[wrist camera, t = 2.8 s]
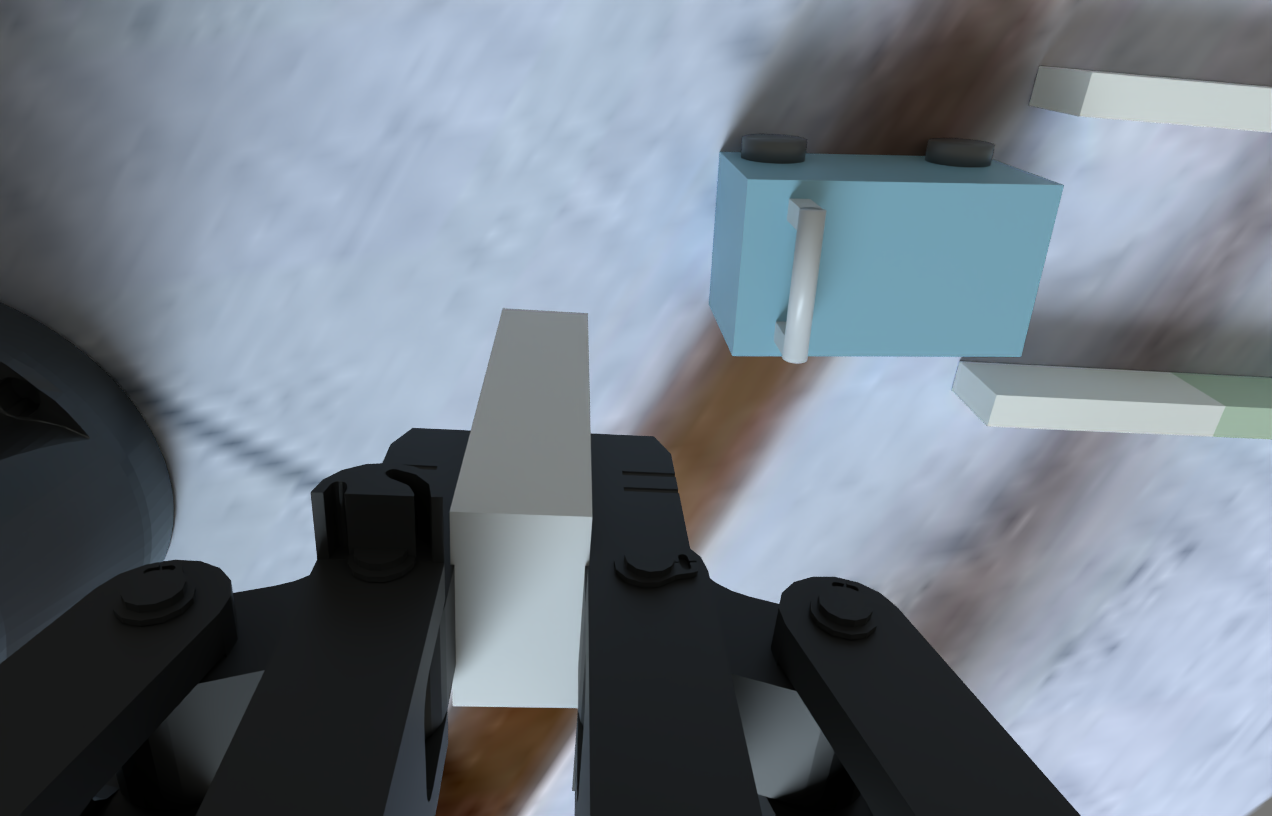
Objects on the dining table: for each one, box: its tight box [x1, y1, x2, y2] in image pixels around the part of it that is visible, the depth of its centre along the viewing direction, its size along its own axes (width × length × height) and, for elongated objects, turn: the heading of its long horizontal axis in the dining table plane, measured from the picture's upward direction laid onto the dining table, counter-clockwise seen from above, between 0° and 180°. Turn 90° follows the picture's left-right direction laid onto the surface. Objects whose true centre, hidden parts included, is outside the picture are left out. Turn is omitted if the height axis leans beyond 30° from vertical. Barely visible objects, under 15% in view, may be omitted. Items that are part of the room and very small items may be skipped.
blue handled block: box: [709, 134, 1064, 363], centre depth 26 cm, size 9×6×7 cm
